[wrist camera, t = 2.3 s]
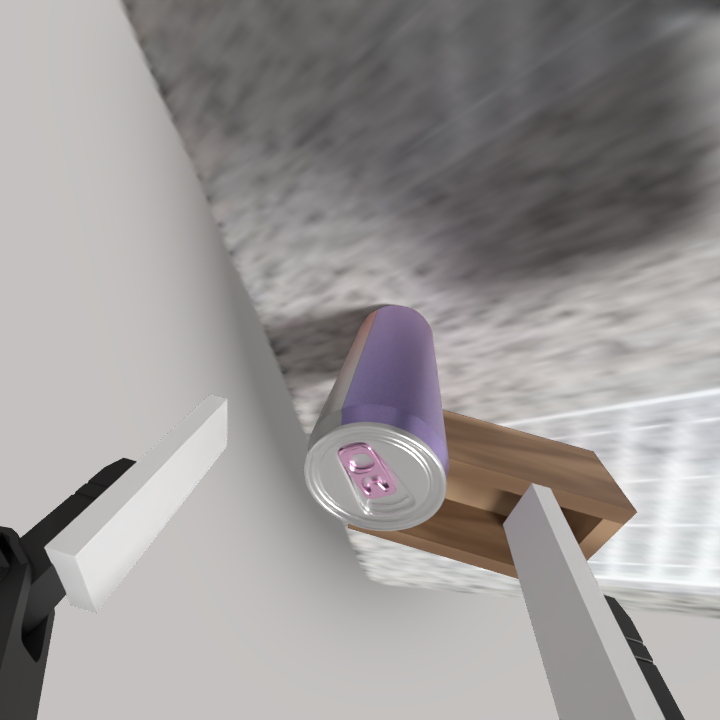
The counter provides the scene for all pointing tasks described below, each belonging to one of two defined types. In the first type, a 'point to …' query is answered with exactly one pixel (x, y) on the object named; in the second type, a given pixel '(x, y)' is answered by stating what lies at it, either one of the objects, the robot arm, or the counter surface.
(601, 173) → the counter surface
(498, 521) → the tray
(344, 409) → the beverage can
